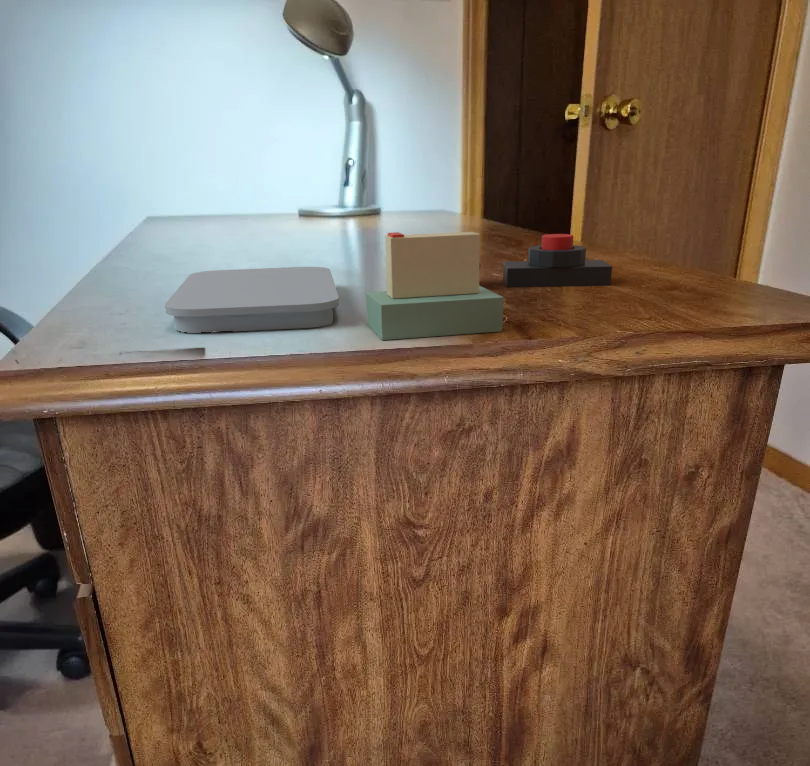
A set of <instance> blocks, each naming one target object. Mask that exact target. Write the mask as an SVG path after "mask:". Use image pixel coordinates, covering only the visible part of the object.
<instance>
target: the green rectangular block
mask: <svg viewBox="0 0 810 766" xmlns="http://www.w3.org/2000/svg"><path fill="white" fill-rule="evenodd" d="M365 301H366V303H365V304H366V322H367V326H368V327H369V328H370V329H371V330H372V331H373V333H375V334H376V336H378V337H379V339H380V340H381V341H390V340H391V341H393V340H403V339H405V340H406V339H417V338H418V339H419V338H432V337H446V336H447V337H448V336H461V335H473V334H487V333H498V332H499V333H501V332H503V323H504V321H503V320H504V296H502V295H499V294H497V293H496V292H494V291H491V290H490V289H487V288H485V287H483V286H482V285H479V293H475V294H459V295H443V296H427V297H411V298H395V299H392V298H391V297H390V296H389V295H387V290H381V291H366V292H365Z"/></svg>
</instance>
